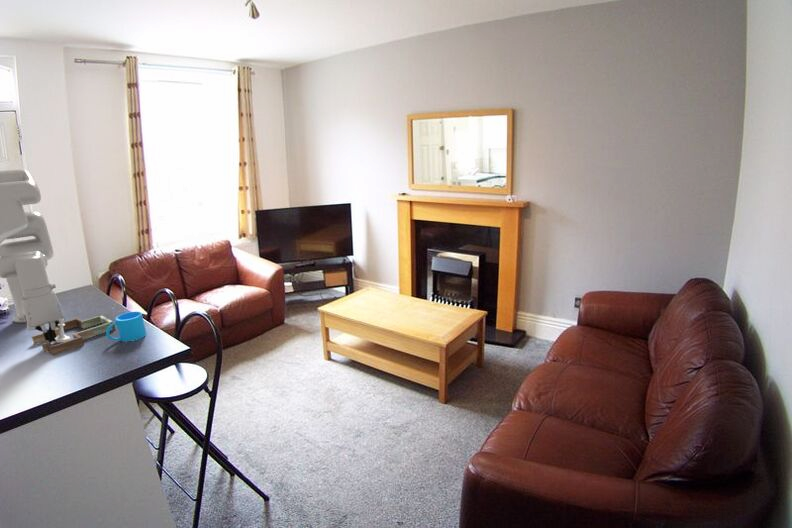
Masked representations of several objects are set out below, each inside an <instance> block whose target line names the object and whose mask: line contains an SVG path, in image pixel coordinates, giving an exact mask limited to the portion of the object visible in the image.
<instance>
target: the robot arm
mask: <svg viewBox="0 0 792 528" xmlns="http://www.w3.org/2000/svg"><path fill="white" fill-rule="evenodd" d="M41 200H42V195H41V192H40V189H39V186H38V184H37V182H36V181H35V179H34V178H33V176H32V175H31V172H29V171H28V170H26V169H9V170H8V169H7V170H0V278H1V279H6V282H7V286H8V288H9V292H10V295H11V298H12V301H13V302H12V303H13V305H14V308H15V311H16V314H17V315H15V316H14V317H13V322H15V323H18V324H20V323H21V324H23V323H25V324H26V330H28V331H39V332H41V333H43V334H44V337H45V340H46V341H45V342H50V343H51V344H52V343H53V342H54V341H56V340H55V338H56V333H55V329H56V327H57V325H58V324H59V323H61V322H60V321H59V320H60V319H62V318H64V322H66V317H65V316H64V312H63V311H64V310H63V308H62V306H61V303H60V301H59V299H58V296H57V295H56V293H55V291H53V290H54V289H56V287H57V286H56V284H55V283H54V284H51V283H50V281H49V278H48V274H47V270H46V269H47V266H48V263H49V262H48V261H49V260H51V259H53V257H54V249H53V245H52V240H51V237H50V234H49V230H48V227H47V226H48V225H47V223H46V220H45V218H44V217H43V215H42V214H41V213H40V212H38V211H25V208H24V206H27V205H28V206H29V205H35V204H39V203H40V202H41ZM27 237H33V238H28V239H23V240H16V241H9V242H4V241H5V240H13V239H21V238H27ZM34 237H35V238H34ZM3 242H4V243H3ZM46 324H48V328H47V327H46ZM47 340H48V341H47Z"/></svg>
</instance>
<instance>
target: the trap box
mask: <svg viewBox="0 0 792 528" xmlns="http://www.w3.org/2000/svg"><path fill="white" fill-rule="evenodd" d="M114 322H115V321H113V320H111V319H109V318H107V317H106V316H104V315H102V314H100V315H97V316H93V317H91V318H88V319H87V318H86V319H84V320H83V319H82V318H80V317H76V318H72V319H69V320H65V321H64V322H63V324H65V326H63V329H64V332H65V331H68V330H71V329H74V327H75V328H78V327H79V328H80V329H82V328H83V330H82V331H79V332H74V333H72V339H70V340H69V341H66V342H59V343H57V344H55V345H54V344H52V342H51V343H50V342H49V341H48V340H47V341H46V340H45V337H44V334H43V332H41V333H38V334H34V335H32V336H31V338H32V342H33V344H34V345H38V344H41V346H42V350H43V353H44V354H46V353H47V352H48V353H50V355H52V356H57V355H59V354H62V353H64V352H65V353H66V352H67V351H70V350H73V349H77V348H79V347H82V346H85V344H84V340H87V339H91V338H93V336H94V337H96V335H97V336H100V335H103V334H106V333H105V332H106V330H107V328H108V327H109V326H110V325H111V324H112V323H114ZM100 323H102V324H100ZM59 324H60V323H59ZM97 324H98V325H97ZM93 325H95V327H94V326H93ZM77 326H78V327H77ZM91 326H92V327H91ZM88 327H89V328H88ZM85 328H86V329H85ZM114 329H115V330H116V324H115V325H114V326H112V328H111V329H110V330H112V331H115V330H114ZM59 330H60V326H58V325H57V327H56V329H55V333H56V337H58V335H59ZM102 333H103V334H102ZM99 334H100V335H99Z"/></svg>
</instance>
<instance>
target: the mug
mask: <svg viewBox="0 0 792 528" xmlns="http://www.w3.org/2000/svg"><path fill="white" fill-rule="evenodd" d="M113 322H114V323H112V324H111V325H110V326H109V327H108V328H107V330H106V333H105V335H106V338H108V339H109V340H111V341H121V342H122V341H132V340H136V339H139V340H141V339H143V338H145V337H146V336H145V335H147V331H146V327H145V322H144V318H143V313H142V312H141V311H129V312H124V313H122V314H119V315H118V316H115V321H113ZM114 325H115V326H116V328H117V331H118V335H119V337H113V336H112V335H110V332H111V331H110V329H111V328H112V326H114ZM144 336H145V337H144ZM142 337H143V338H142ZM140 338H141V339H140ZM136 341H137V340H136ZM132 342H133V341H132Z"/></svg>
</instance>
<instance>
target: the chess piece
mask: <svg viewBox="0 0 792 528" xmlns="http://www.w3.org/2000/svg"><path fill="white" fill-rule="evenodd" d="M59 321H60V322H61V323H60V324H58V326H60V330H59V335H58V337H56V338H55V340H56V341H53V342H54V343H63V342H66V341H69V340H71V337H70V336H68V335H66V334H65V331H64V329H63V326H65V324H63V322H65V321H64V318H62V319H60V320H59Z"/></svg>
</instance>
